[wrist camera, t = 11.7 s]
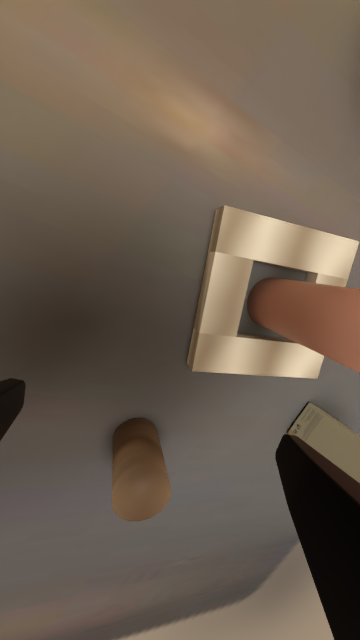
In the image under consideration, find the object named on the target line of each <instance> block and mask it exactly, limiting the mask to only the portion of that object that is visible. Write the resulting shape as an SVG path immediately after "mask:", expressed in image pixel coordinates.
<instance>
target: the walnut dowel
mask: <svg viewBox="0 0 360 640" xmlns="http://www.w3.org/2000/svg"><path fill="white" fill-rule="evenodd" d="M170 496H171V487H170V482H169V478H168V474H167V470H166V466H165V462H164V458H163V453H162V449H161V445H160V441H159V437H158V433H157V429H156V427H155V425H154V424H153V423H152V422H151V421H149V420H147V419H144V418H133V419H130V420H127V421H125V422H124V423H122V424H121V425H120V426H119V427H118V428H117V429H116V431H115V433H114V436H113V466H112V507H113V510H114V512H115V513H116V515H117V516H119V517H120V518H122V519H124V520H127V521H142V520H146V519H149V518H151V517H153V516H155V515H156V514H158V513H159V512H160V511H161V510H162V509H163V508H164V507H165V506H166V505H167V503H168V501H169V499H170Z"/></svg>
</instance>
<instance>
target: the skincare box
mask: <svg viewBox="0 0 360 640" xmlns="http://www.w3.org/2000/svg"><path fill="white" fill-rule="evenodd" d="M288 434H291V435H296V436H298V437H299V438H300V439H302V440H303V441H304V442H306V443H307V444H308V445H310V446H311V447H312V448H314V449H315V450H316V451H318V452H319V453H320V454H322V455H323V456H324V457H326V458H327V459H328V460H330V461H331V462H332V463H334V464H335V465H336V466H338V467H339V468H340V469H341V470H343V471H344V472H345V473H347V474H348V475H349V476H351V477H352V478H353V479H355V480H356V481H357V482H359V483H360V436H359V435H358V434H356V433H355V432H354V431H352V430H351V429H349V428H348V427H346V426H345V425H344V424H342V423H341V422H339V421H338V420H336V419H335V418H334V417H332V416H331V415H329V414H328V413H326V412H325V411H323V410H322V409H320V408H319V407H317V406H315V405H314V404H312V403H308V405H307V406H306V408H305V409H304V410H303V412H302V413H301V415H300V416H299V417H298V419H297V420H296V421H295V423H294V424H293V426H292V427H291V429H290V430H289V432H288Z"/></svg>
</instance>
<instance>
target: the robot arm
mask: <svg viewBox="0 0 360 640" xmlns="http://www.w3.org/2000/svg"><path fill="white" fill-rule="evenodd" d="M24 395H25V382H24V381H23V380H18V379H13V378H10V379H7V380H3V381H0V441H1V439H2V438H3V436H4V435H5V433H6V432H7V430H8V429H9V427H10V426H11V424H12V423H13V421H14V420H15V418H16V417H17V415H18V414H19V412H20V411H21V409H22V407H23V404H24ZM276 462H277V466H278V470H279V474H280V478H281V482H282V486H283V490H284V493H285V497H286V501H287V504H288V508H289V511H290V514H291V517H292V520H293V522H294V525H295V528H296V531H297V534H298V537H299V540H300V543H301V545H302V548H303V551H304V554H305V557H306V560H307V563H308V565H309V568H310V571H311V574H312V577H313V580H314V583H315V585H316V588H317V591H318V594H319V597H320V600H321V603H322V606H323V608H324V611H325V614H326V617H327V620H328V623H329V625H330V628H331V631H332V634H333V637H334V640H360V483H359V482H357V481H356V480H355V479H353V478H352V477H351V476H349V475H348V474H347V473H345V472H344V471H343V470H341V469H340V468H339V467H338V466H336V465H335V464H334V463H332V462H331V461H330V460H328V459H327V458H326V457H324V456H323V455H322V454H320V453H319V452H318V451H316V450H315V449H314V448H312V447H311V446H310V445H308V444H307V443H306V442H304V441H303V440H302V439H300V438H299V437H298V436H296V435H291V434H284V435H283V437H282V439H281V441H280V444H279V446H278V448H277V450H276Z"/></svg>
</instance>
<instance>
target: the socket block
mask: <svg viewBox="0 0 360 640" xmlns="http://www.w3.org/2000/svg"><path fill="white" fill-rule="evenodd" d="M358 244H359V241H355V240H351V239H348V238H344V237H340V236H337V235H333V234H329V233H326V232H322V231H318V230H314V229H311V228H307V227H303V226H300V225H296V224H292V223H288V222H285V221H281V220H277V219H274V218H270V217H266V216H262V215H259V214H255V213H251V212H248V211H244V210H240V209H236V208H233V207H229V206H225V205H224V206H222V207H220V208H218V209H216V213H215V218H214V223H213V228H212V234H211V239H210V244H209V249H208V254H207V260H206V265H205V270H204V275H203V281H202V286H201V291H200V296H199V302H198V307H197V312H196V317H195V323H194V328H193V333H192V338H191V344H190V349H189V354H188V359H187V365H188V366H189V367H190V369H191V370H192V371H198V372H215V373H232V374H248V375H265V376H282V377H299V378H315V379H317V378H318V375H319V372H320V368H321V365H322V362H323V358H324V356H323V355H321V354H319V353H317V352H315V351H313V350H311V349H309V348H307V347H305V346H303V345H301V344H299V343H296V342H294V341H292V340H290V339H288V338H286V337H284V336H282V335H280V334H278V333H276V332H274V331H272V330H269V329H267V328H265V327H263V326H261V325H259V324H257V323H255V322H254V321H253V320H252V319H251V317H250V316H249V314H248V310H247V300H248V296H249V293H250V291H251V290H252V288H253V287H254V286H255V285H256V284H257V283H258V282H259V281H261V280H263V279H265V278H269V277H275V278H282V279H289V280H297V281H304V282H311V283H318V284H326V285H333V286H340V287H346V283H347V280H348V277H349V273H350V270H351V267H352V264H353V260H354V257H355V254H356V251H357V247H358Z"/></svg>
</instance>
